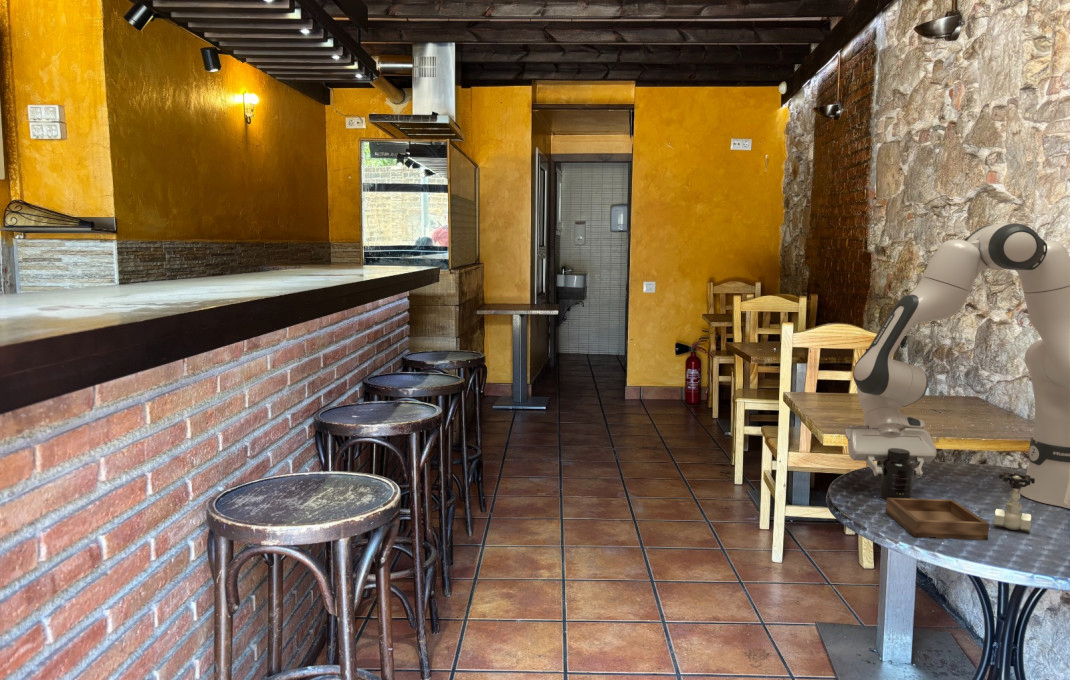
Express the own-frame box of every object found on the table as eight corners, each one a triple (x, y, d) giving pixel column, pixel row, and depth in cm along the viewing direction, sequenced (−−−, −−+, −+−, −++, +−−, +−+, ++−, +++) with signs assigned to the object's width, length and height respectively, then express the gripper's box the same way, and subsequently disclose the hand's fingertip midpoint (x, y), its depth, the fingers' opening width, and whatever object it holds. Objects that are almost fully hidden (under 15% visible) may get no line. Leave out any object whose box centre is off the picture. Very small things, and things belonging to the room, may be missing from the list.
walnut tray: (952, 514, 175) (953, 499, 174) (987, 539, 160) (989, 523, 160) (885, 512, 176) (886, 497, 175) (914, 537, 161) (916, 521, 160)
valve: (1029, 537, 162) (1035, 482, 161) (993, 530, 166) (998, 477, 164) (1029, 527, 168) (1034, 475, 166) (994, 521, 171) (999, 469, 170)
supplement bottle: (876, 492, 190) (879, 445, 188) (905, 494, 189) (909, 447, 187) (884, 502, 183) (888, 453, 181) (914, 503, 182) (919, 455, 180)
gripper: (846, 418, 190) (858, 468, 182) (930, 420, 190) (946, 470, 181) (839, 431, 195) (850, 480, 187) (920, 434, 195) (935, 483, 186)
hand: (898, 475), depth 184 cm, fingers open, 8 cm apart
